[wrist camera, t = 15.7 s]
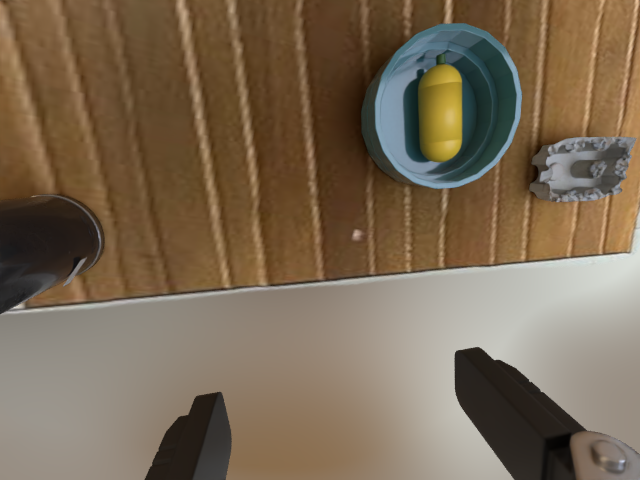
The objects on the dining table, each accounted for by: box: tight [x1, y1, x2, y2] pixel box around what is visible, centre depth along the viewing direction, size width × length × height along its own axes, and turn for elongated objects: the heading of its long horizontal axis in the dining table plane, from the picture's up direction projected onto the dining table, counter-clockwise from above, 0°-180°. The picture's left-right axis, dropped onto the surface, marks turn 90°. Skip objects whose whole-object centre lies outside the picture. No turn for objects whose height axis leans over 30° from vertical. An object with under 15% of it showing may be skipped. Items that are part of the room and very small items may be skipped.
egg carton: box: [529, 137, 636, 202], centre depth 38 cm, size 11×8×4 cm
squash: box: [418, 54, 462, 162], centre depth 33 cm, size 11×4×4 cm, turn 7°
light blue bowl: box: [361, 23, 522, 189], centre depth 33 cm, size 15×15×6 cm
